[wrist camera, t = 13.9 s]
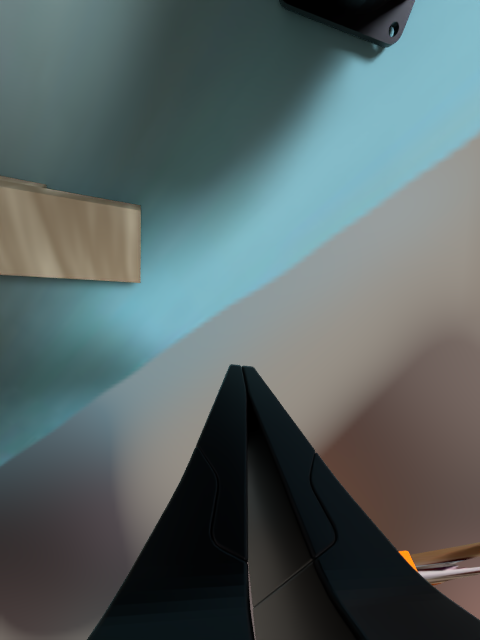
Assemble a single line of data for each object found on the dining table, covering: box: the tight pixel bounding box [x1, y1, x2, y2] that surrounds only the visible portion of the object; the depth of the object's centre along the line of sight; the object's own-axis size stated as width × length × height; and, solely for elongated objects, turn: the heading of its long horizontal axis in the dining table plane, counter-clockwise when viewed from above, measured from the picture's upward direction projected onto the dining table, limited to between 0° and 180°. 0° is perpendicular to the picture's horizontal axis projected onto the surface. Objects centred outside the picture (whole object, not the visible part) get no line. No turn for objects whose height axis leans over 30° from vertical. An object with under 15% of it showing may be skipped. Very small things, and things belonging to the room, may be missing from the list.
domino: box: [0, 180, 141, 283], centre depth 15 cm, size 2×5×10 cm
